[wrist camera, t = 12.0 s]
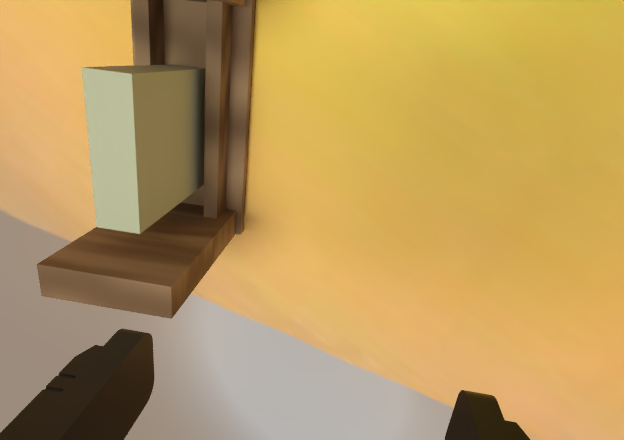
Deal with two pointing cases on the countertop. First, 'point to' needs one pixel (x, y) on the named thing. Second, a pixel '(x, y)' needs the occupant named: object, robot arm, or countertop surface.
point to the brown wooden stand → (199, 205)
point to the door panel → (144, 140)
